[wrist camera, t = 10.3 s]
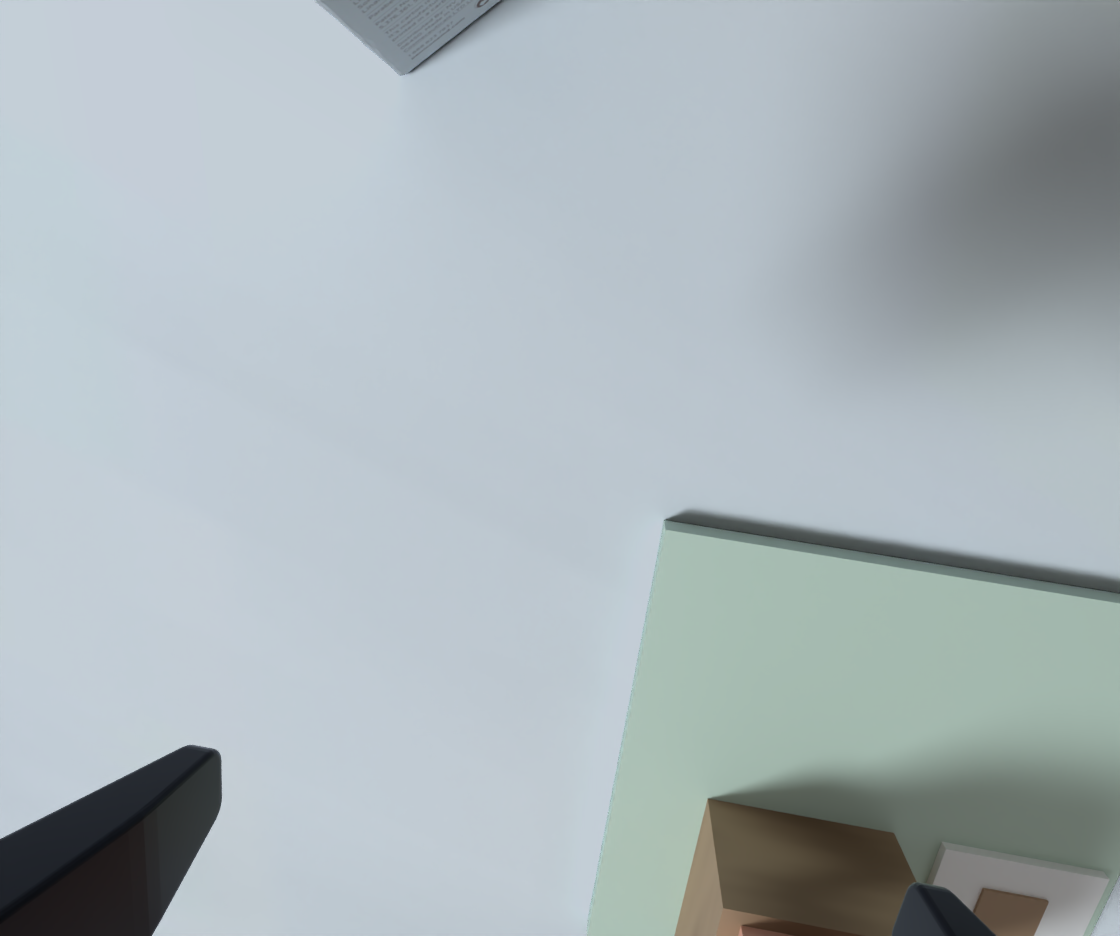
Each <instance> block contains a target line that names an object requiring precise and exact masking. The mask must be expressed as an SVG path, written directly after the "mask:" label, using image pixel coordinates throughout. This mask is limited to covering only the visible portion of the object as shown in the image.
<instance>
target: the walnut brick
mask: <svg viewBox="0 0 1120 936" xmlns="http://www.w3.org/2000/svg"><path fill="white" fill-rule="evenodd" d="M914 882H916V879H915V877H914V875H913V873H912V871H911V869H910V866H909V864H908V862H907V860H906V858H905V856H904V853H903V851H902V849H901V847H900V845H899V843H898V840H897V838H896V836H895V834H894V833H892V832H886V831H881V830H875V829H870V828H865V827H859V826H854V825H848V824H843V823H838V822H832V821H827V820H821V819H816V818H811V817H805V816H800V815H794V814H789V813H784V812H778V811H773V810H767V809H762V808H757V807H751V806H746V805H740V804H735V803H730V802H724V801H719V800H713V799H707V803H706V807H705V811H704V816H703V820H702V824H701V828H700V832H699V836H698V840H697V844H696V848H695V853H694V857H693V861H692V865H691V869H690V873H689V877H688V881H687V886H686V890H685V894H684V898H683V902H682V906H681V910H680V914H679V919H678V923H677V927H676V931H675V935H674V936H738V934H739V931H740V927H741V925H742V926H747V927H752V928H757V929H762V930H768V931H773V932H778V933H783V934H788V935H793V936H892V930H893V926H894V924H895V921H896V918H897V915H898V913H899V910H900V907H901V904H902V902H903V899H904V896H905V894H906V891H907V889H908V887H909V886H910V885H911V884H912V883H914Z"/></svg>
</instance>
